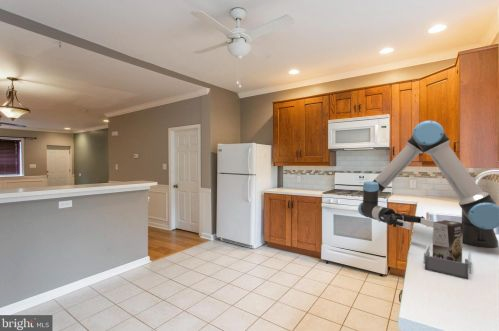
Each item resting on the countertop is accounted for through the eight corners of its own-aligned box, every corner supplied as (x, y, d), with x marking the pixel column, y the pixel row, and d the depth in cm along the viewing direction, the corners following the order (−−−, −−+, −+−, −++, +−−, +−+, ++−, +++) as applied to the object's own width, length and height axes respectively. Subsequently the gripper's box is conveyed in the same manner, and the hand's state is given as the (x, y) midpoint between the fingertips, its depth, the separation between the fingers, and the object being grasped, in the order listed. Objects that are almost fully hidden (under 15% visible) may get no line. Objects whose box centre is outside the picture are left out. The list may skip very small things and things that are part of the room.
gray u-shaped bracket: (427, 253, 110) (427, 241, 110) (470, 261, 101) (470, 249, 101) (421, 268, 95) (422, 255, 95) (471, 280, 86) (472, 265, 86)
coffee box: (450, 268, 95) (451, 225, 94) (431, 262, 101) (432, 221, 100) (462, 264, 99) (463, 222, 99) (444, 258, 105) (444, 219, 104)
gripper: (403, 220, 133) (444, 232, 113) (363, 223, 126) (399, 236, 106) (403, 206, 133) (445, 215, 112) (363, 208, 126) (400, 218, 106)
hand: (423, 225), depth 109 cm, fingers open, 13 cm apart
